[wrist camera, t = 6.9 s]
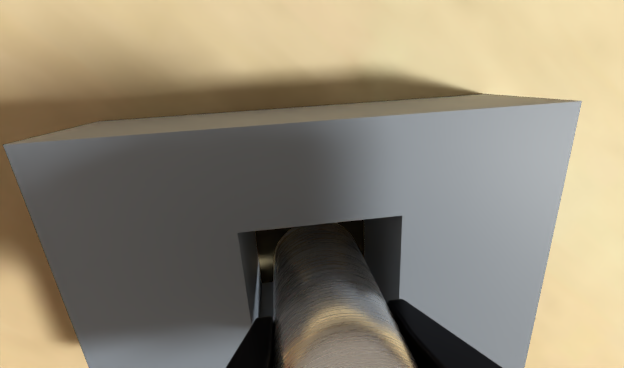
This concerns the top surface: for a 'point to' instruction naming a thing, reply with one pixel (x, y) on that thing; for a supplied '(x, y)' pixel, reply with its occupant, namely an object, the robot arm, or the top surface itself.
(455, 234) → the hole block
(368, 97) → the top surface
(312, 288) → the pin
